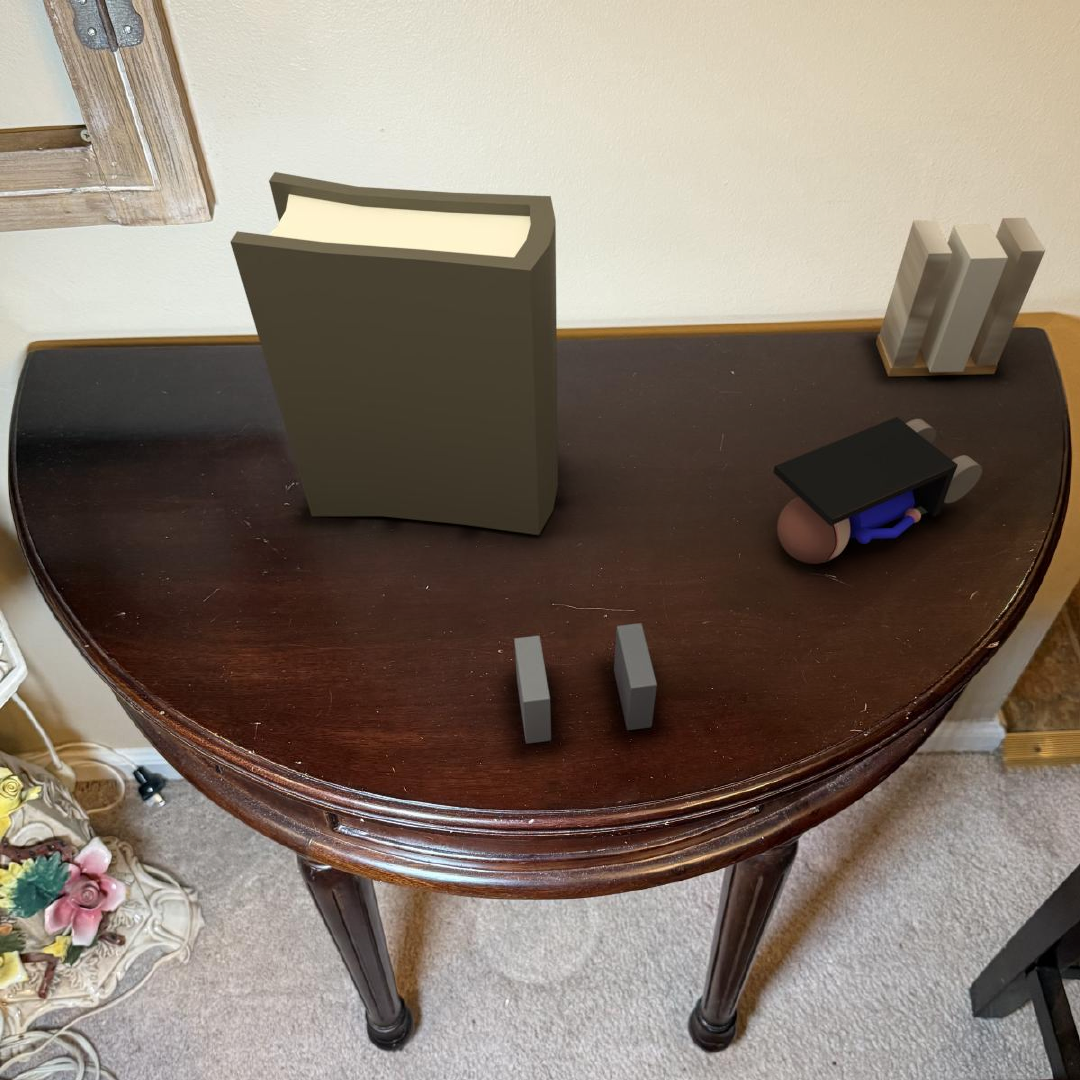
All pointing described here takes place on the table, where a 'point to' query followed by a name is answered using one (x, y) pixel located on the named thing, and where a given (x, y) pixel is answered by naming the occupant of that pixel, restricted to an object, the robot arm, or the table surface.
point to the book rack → (923, 284)
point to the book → (412, 349)
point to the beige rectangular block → (963, 297)
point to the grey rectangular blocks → (629, 672)
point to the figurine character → (867, 488)
